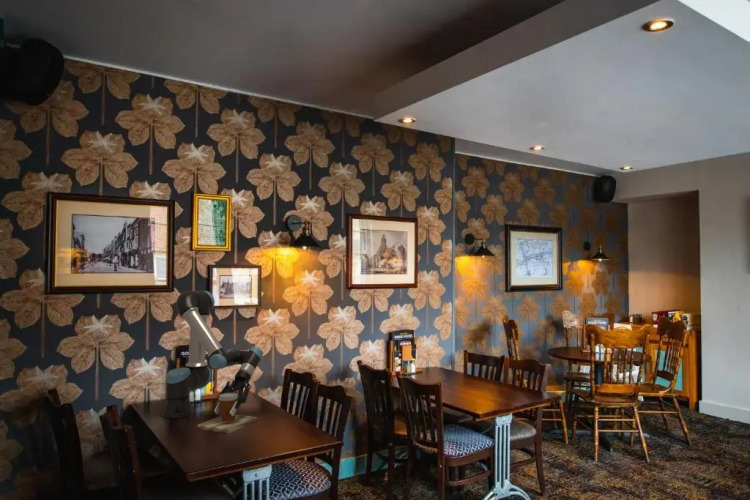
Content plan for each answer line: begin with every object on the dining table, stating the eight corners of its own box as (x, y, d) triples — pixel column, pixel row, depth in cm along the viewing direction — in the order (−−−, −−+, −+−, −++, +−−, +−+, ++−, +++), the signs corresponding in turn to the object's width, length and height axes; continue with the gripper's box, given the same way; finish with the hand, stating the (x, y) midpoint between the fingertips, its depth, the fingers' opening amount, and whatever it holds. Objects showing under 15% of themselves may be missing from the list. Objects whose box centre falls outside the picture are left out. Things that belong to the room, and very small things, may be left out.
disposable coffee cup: (242, 418, 252) (242, 393, 253) (229, 423, 244) (229, 397, 244) (227, 416, 256) (227, 391, 257) (213, 421, 248) (214, 395, 248)
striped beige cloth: (197, 429, 243) (197, 424, 244) (227, 417, 264) (227, 413, 264) (227, 433, 236) (228, 429, 236) (256, 421, 257) (256, 417, 257)
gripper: (224, 368, 265) (202, 407, 249) (258, 371, 256) (238, 411, 241) (231, 376, 269) (209, 415, 254) (265, 380, 261) (245, 420, 245)
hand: (223, 413), depth 247 cm, fingers closed on disposable coffee cup, 9 cm apart
